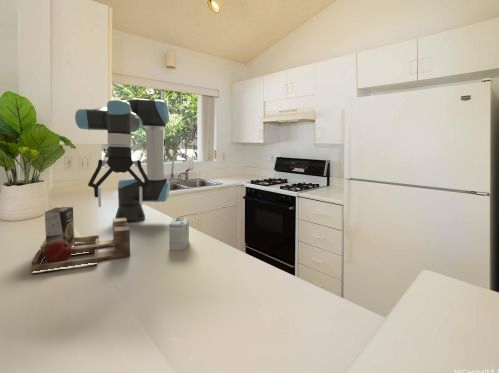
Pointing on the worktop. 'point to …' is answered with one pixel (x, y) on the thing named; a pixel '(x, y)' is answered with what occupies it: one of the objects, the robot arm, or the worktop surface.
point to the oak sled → (96, 236)
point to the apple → (57, 252)
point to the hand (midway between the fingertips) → (121, 205)
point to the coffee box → (59, 225)
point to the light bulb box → (178, 234)
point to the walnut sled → (120, 251)
